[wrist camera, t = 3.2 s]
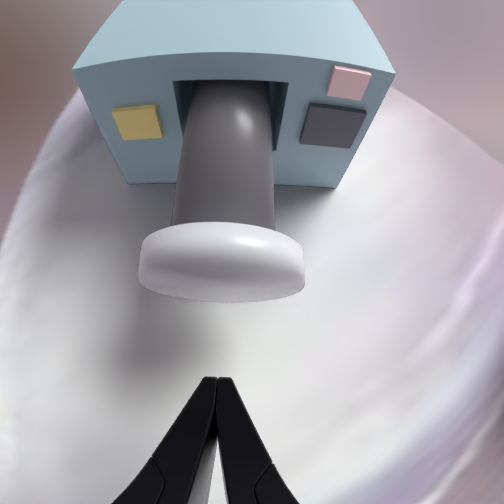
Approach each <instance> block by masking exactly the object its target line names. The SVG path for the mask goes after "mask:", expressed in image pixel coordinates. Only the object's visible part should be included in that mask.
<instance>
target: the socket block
mask: <svg viewBox="0 0 504 504" xmlns="http://www.w3.org/2000/svg"><path fill="white" fill-rule="evenodd" d="M72 72H73V74H74V76H75V79H76V81H77V83H78V85H79V87H80V90H81V92H82V94H83V96H84V98H85V101H86V103H87V105H88V107H89V109H90V111H91V113H92V115H93V117H94V120H95V122H96V124H97V126H98V128H99V130H100V132H101V134H102V136H103V138H104V140H105V142H106V144H107V146H108V148H109V150H110V152H111V153H112V155H113V157H114V159H115V161H116V163H117V165H118V167H119V169H120V171H121V172H122V174H123V176H124V178H125V180H126V182H127V184H140V183H176V182H177V175H178V168H179V162H180V156H181V150H182V144H183V138H184V132H185V127H186V121H187V116H188V111H189V106H190V101H191V96H192V91H193V87H194V82H195V80H213V79H228V80H261V81H269V90H270V109H271V130H272V154H273V180H274V184H277V185H297V186H314V187H329V188H337V186H338V184H339V183H340V181H341V179H342V177H343V175H344V173H345V172H346V170H347V168H348V166H349V164H350V162H351V160H352V159H353V157H354V155H355V153H356V151H357V149H358V147H359V145H360V144H361V142H362V140H363V138H364V136H365V134H366V132H367V130H368V128H369V126H370V124H371V122H372V120H373V119H374V117H375V115H376V113H377V111H378V109H379V107H380V105H381V103H382V101H383V99H384V97H385V95H386V93H387V91H388V89H389V87H390V85H391V83H392V81H393V78H394V77H395V71H394V69H393V68H392V66H391V64H390V62H389V60H388V58H387V56H386V54H385V53H384V51H383V49H382V47H381V46H380V44H379V42H378V40H377V39H376V37H375V35H374V34H373V32H372V30H371V29H370V27H369V25H368V24H367V22H366V21H365V19H364V18H363V16H362V15H361V13H360V11H359V10H358V8H357V7H356V6H355V4H354V3H353V1H352V0H123V1H122V2H121V4H120V5H119V6H118V7H117V8H116V9H115V11H114V12H113V13H112V14H111V15H110V17H109V18H108V19H107V21H106V22H105V23H104V24H103V26H102V27H101V28H100V30H99V31H98V32H97V34H96V35H95V36H94V38H93V39H92V40H91V42H90V43H89V45H88V46H87V47H86V49H85V50H84V52H83V53H82V55H81V56H80V58H79V59H78V61H77V62H76V64H75V65H74V67H73V68H72Z"/></svg>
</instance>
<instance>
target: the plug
mask: <svg viewBox="0 0 504 504" xmlns="http://www.w3.org/2000/svg"><path fill="white" fill-rule="evenodd" d="M137 280H138V282H139V283H140V284H141V285H142V286H143V287H145V288H147V289H149V290H151V291H154V292H156V293H159V294H163V295H167V296H171V297H176V298H181V299H187V300H195V301H205V302H223V303H239V302H257V301H266V300H273V299H279V298H283V297H287V296H290V295H293V294H295V293H297V292H299V291H301V290H302V289H303V288H304V262H303V250H302V247H301V246H300V244H299V243H298V242H296V241H295V240H294V239H292V238H290V237H289V236H287V235H285V234H282V233H280V232H277V231H275V211H274V180H273V154H272V130H271V109H270V90H269V81H261V80H228V79H213V80H195V82H194V87H193V91H192V96H191V101H190V106H189V111H188V116H187V121H186V127H185V132H184V138H183V144H182V150H181V156H180V162H179V168H178V175H177V182H176V189H175V196H174V203H173V211H172V219H171V227H167V228H164V229H160V230H158V231H156V232H154V233H152V234H150V235H149V236H147V237H146V238H145V239H144V240H143V242H142V245H141V253H140V261H139V270H138V279H137Z"/></svg>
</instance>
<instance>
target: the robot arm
mask: <svg viewBox="0 0 504 504" xmlns="http://www.w3.org/2000/svg"><path fill="white" fill-rule="evenodd" d="M217 440H218V444H219V453H220V460H221V468H222V475H223V482H224V488H225V495H226V501H227V504H299V502H298V501H297V500H296V499H295V497H294V496H293V494H292V493H291V492H290V490H289V489H288V487H287V486H286V484H285V483H284V481H283V479H282V478H281V476H280V474H279V473H278V471H277V469H276V467H275V465H274V464H273V463H272V460H271V458H270V456H269V454H268V452H267V450H266V448H265V446H264V444H263V442H262V440H261V438H260V436H259V434H258V432H257V430H256V428H255V426H254V424H253V422H252V420H251V418H250V416H249V414H248V412H247V410H246V408H245V405H244V403H243V401H242V399H241V397H240V395H239V393H238V391H237V388H236V386H235V384H234V382H233V380H232V378H230V377H219V378H217V377H207V376H206V377H204V378H203V379H202V381H201V382H200V384H199V385H198V387H197V388H196V390H195V391H194V393H193V394H192V396H191V397H190V399H189V400H188V402H187V403H186V405H185V407H184V408H183V410H182V411H181V413H180V414H179V416H178V417H177V419H176V420H175V422H174V423H173V425H172V426H171V428H170V429H169V431H168V432H167V434H166V435H165V437H164V438H163V439H162V441H161V442H160V444H159V445H158V447H157V448H156V450H155V451H154V453H153V454H152V457H150V458H149V460H148V461H147V463H146V464H145V466H144V467H143V468H142V470H141V471H140V472H139V474H138V475H137V476H136V478H135V479H134V480H133V481H132V482H131V483H130V485H129V486H128V487H127V488H126V489H125V490H124V491H123V492H122V493H121V494H120V495H119V496H118V497H117V498H116V499H115V500H114V502H113V503H112V504H208V497H209V491H210V485H211V479H212V472H213V466H214V460H215V454H216V448H217Z"/></svg>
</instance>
